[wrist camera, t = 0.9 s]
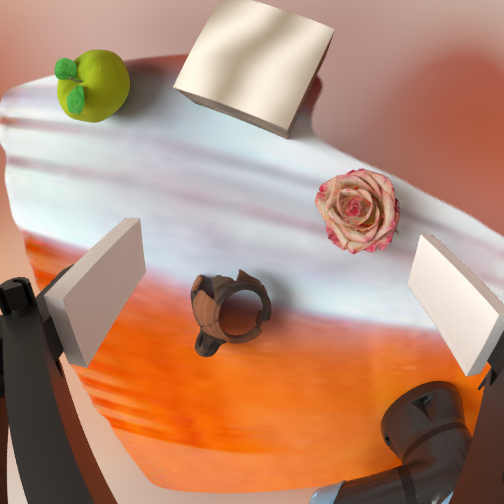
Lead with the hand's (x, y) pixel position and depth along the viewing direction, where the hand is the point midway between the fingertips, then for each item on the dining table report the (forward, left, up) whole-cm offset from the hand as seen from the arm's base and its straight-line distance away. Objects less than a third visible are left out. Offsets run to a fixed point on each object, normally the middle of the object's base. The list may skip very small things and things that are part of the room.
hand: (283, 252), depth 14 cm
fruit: (+27, -5, -24) cm, 36 cm away
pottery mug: (+1, +15, -24) cm, 28 cm away
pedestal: (+9, -13, -23) cm, 28 cm away
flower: (-7, -3, -24) cm, 25 cm away
